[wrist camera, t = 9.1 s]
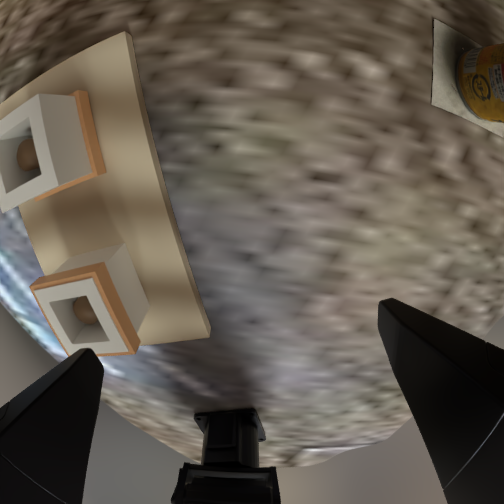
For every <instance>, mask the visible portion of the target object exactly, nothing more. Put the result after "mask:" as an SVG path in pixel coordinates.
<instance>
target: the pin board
mask: <svg viewBox="0 0 504 504" xmlns="http://www.w3.org/2000/svg"><path fill="white" fill-rule="evenodd" d="M77 90H81V91H87V92H88V97H89V102H90V107H91V112H92V116H93V121H94V125H95V130H96V134H97V138H98V142H99V146H100V150H101V154H102V158H103V162H104V165H105V169H106V172H107V173H104V174H101V175H99V176H96V177H94V178H91V179H88V180H86V181H83V182H81V183H78V184H76V185H74V186H71V187H69V188H66V189H64V190H62V191H59V192H57V193H55V194H52V195H50V196H48V197H46V198H43V199H41V200H39V201H37V202H35V199H34V198H33V199H31V200H29V201H27V202H24V203H22V204H20V205H18V206H19V209H20V213H21V216H22V219H23V222H24V224H25V227H26V230H27V233H28V236H29V238H30V241H31V244H32V246H33V249H34V251H35V254H36V256H37V259H38V261H39V263H40V266H41V268H42V270H43V272H44V275H45V276H47V275H51V274H52V273H53V272H54V271H55V270H56V269H57V268H58V267H60V266H61V265H62V264H63V263H64V262H65V261H66V260H67V259H69V258H70V257H72V256H76V255H80V254H84V253H87V252H91V251H95V250H99V249H102V248H106V247H110V246H114V245H118V244H122V243H125V244H126V247H127V249H128V252H129V255H130V257H131V260H132V263H133V265H134V268H135V271H136V273H137V276H138V278H139V281H140V283H141V286H142V288H143V290H144V293H145V295H146V298H147V300H148V302H149V305H150V307H149V310H148V312H147V314H146V316H145V318H144V320H143V322H142V324H141V326H140V328H139V331H138V333H137V335H138V337H139V339H140V341H141V342H140V345H139V346H142V345H152V344H161V343H170V342H178V341H186V340H194V339H201V338H208V337H210V331H211V326H210V323H209V320H208V318H207V315H206V312H205V309H204V306H203V303H202V301H201V298H200V295H199V292H198V289H197V286H196V283H195V280H194V277H193V274H192V271H191V268H190V265H189V262H188V259H187V256H186V252H185V249H184V246H183V243H182V240H181V236H180V233H179V230H178V227H177V223H176V220H175V217H174V213H173V210H172V206H171V203H170V199H169V196H168V192H167V189H166V185H165V182H164V178H163V174H162V170H161V167H160V163H159V159H158V155H157V151H156V147H155V143H154V139H153V135H152V131H151V127H150V123H149V119H148V114H147V110H146V106H145V101H144V97H143V92H142V87H141V83H140V78H139V73H138V68H137V63H136V57H135V52H134V47H133V41H132V36H131V35H130V34H128V33H127V32H125V31H124V32H121V33H119V34H117V35H115V36H112V37H110V38H108V39H106V40H103V41H101V42H99V43H97V44H95V45H93V46H91V47H89V48H87V49H85V50H83V51H81V52H79V53H78V54H76V55H74V56H72V57H70V58H68V59H67V60H65V61H63V62H61V63H60V64H58V65H56V66H55V67H53V68H51V69H50V70H48V71H47V72H45V73H43V74H42V75H40V76H39V77H37V78H36V79H34V80H33V81H31V82H30V83H28V84H27V85H25V86H24V87H23V88H21V89H20V90H18V91H17V92H16V93H14V94H13V95H12V96H10V97H9V98H8V99H6V100H5V101H4V102H3V103H1V104H0V120H2V119H3V118H4V117H5V116H7V115H8V114H9V113H11V112H12V111H14V110H15V109H16V108H18V107H19V106H21V105H22V104H23V103H25V102H26V101H28V100H29V99H31V98H32V97H34V96H35V95H37V94H38V93H39V94H54V95H66V96H68V95H69V94H71V93H73V92H75V91H77ZM17 162H18V165H19V167H20V168H21V169H22V170H24V171H30V170H33V169H36V168H40V166H39V162H38V158H37V154H36V149H35V145H34V140H33V138H32V139H26V140H24V141H22V142H21V143H20V145H19V147H18V149H17ZM73 311H74V314H75V315H76V317H77V318H78V319H79V320H80V321H81V322H83V323H85V324H94V323H95V322H96V321H97V320H98V318H97V316H96V314H95V312H94V310H93V308H92V306H91V304H90V302H89V300H88V298H87V296H80V297H79V298H78V299H77V300H76V301H75V303H74V304H73Z"/></svg>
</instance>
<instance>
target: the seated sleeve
mask: <svg viewBox="0 0 504 504" xmlns="http://www.w3.org/2000/svg"><path fill="white" fill-rule="evenodd" d="M29 287H30V289H31V291H32V293H33V295H34V297H35V299H36V301H37V303H38V305H39V307H40V309H41V311H42V313H43V315H44V316H45V318H46V320H47V322H48V324H49V325H50V327H51V329H52V331H53V332H54V334H55V336H56V337H57V339H58V341H59V342H60V344H61V346H62V347H63V349H64V350H65V352H66V354H67V355H68V357H69V356H71V355H72V354H73V353H75V352H76V351H77V350H79V349H81V348H91V349H92V350H93V351H94V352H95V354H96V355H97V356H115V355H129V354H136V352H137V349H138V347H139V345H140V342H141V341H140V339H139V337H138V335H137V333H138V331H139V328H140V326H141V324H142V322H143V320H144V318H145V316H146V314H147V312H148V310H149V307H150V305H149V302H148V300H147V298H146V295H145V293H144V290H143V288H142V286H141V283H140V281H139V278H138V276H137V273H136V271H135V268H134V265H133V263H132V260H131V257H130V255H129V252H128V249H127V247H126V244H125V243H122V244H118V245H114V246H110V247H106V248H102V249H99V250H95V251H91V252H87V253H84V254H80V255H76V256H72V257H70V258H69V259H67V260H66V261H65V262H64V263H63V264H62V265H61V266H60V267H58V268H57V269H56V270H55V271H54V272H53V273H52V274H51V275H47V276H43V277H39V278H38V279H37V280H36V281H35V282H34V283H33V284H31V285H30V286H29ZM80 296H87V298H88V300H89V302H90V304H91V306H92V308H93V310H94V312H95V314H96V316H97V318H98V320H97V321H96V322H95V323H94V324H85V323H83V322H81V321H80V320H79V319H78V318H77V317H76V315H75V314H74V311H73V304H74V303H75V301H76V300H77V299H78V298H79V297H80Z"/></svg>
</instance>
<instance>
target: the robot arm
mask: <svg viewBox="0 0 504 504" xmlns="http://www.w3.org/2000/svg"><path fill="white" fill-rule="evenodd" d="M378 330H379V333H380V336H381V338H382V341H383V344H384V347H385V350H386V353H387V355H388V358H389V361H390V364H391V367H392V370H393V373H394V375H395V377H396V379H397V382H398V384H399V386H400V388H401V390H402V392H403V394H404V397H405V399H406V401H407V403H408V405H409V407H410V410H411V412H412V414H413V416H414V419H415V421H416V423H417V426H418V428H419V430H420V433H421V435H422V437H423V440H424V442H425V445H426V447H427V449H428V452H429V454H430V457H431V459H432V462H433V464H434V467H435V470H436V472H437V475H438V478H439V480H440V483H441V486H442V488H443V489H444V490H443V492H444V494H445V497H446V500H447V503H448V504H504V349H501V348H499V347H497V346H495V345H493V344H491V343H489V342H485V341H484V340H482V339H480V338H478V337H476V336H474V335H472V334H469V333H467V332H465V331H463V330H461V329H459V328H457V327H455V326H453V325H450V324H448V323H446V322H444V321H442V320H440V319H438V318H435V317H433V316H431V315H429V314H427V313H425V312H422V311H420V310H418V309H416V308H414V307H412V306H409V305H407V304H405V303H403V302H401V301H399V300H396V299H394V298H389V299H385V300H381V301H380V302H379V305H378ZM103 376H104V368H103V365H102V363H101V362H100V360H99V359H98V357H97V355H96V354H95V352H94V351H93V350H92V349H91V348H81V349H79V350H77V351H76V352H75V353H73V354H72V355H71V356H69V357H68V358H66V359H65V360H64V361H62V362H61V363H60V364H58V365H57V366H56V367H54V368H53V369H51V370H50V371H49V372H47V373H46V374H45V375H43V376H42V377H41V378H39V379H38V380H37V381H35V382H34V383H33V384H31V385H30V386H29V387H27V388H26V389H25V390H23V391H22V392H21V393H19V394H18V395H17V396H16V397H14V398H13V399H11V400H10V402H7V403H6V404H5V405H3V406H2V407H1V408H0V504H82V499H83V491H84V484H85V478H86V471H87V465H88V459H89V453H90V448H91V443H92V438H93V433H94V428H95V424H96V419H97V415H98V410H99V403H100V396H101V389H102V382H103ZM194 420H195V421H196V423H197V425H198V426H199V428H200V429H201V431H202V432H203V434H204V439H203V448H202V458H201V465H197V464H190V463H186V462H184V466H183V468H180V470H179V477H178V482H177V485H176V488H175V490H174V493H173V495H172V498H171V503H172V504H281V499H280V492H279V486H278V479H277V473H276V467H275V466H274V467H263V468H259V443H258V442H262V441H265V440H266V436H265V433H264V431H263V428H262V425H261V423H260V420H259V417H258V415H257V412H256V410H255V409H243V410H234V411H224V412H212V413H198V414H195V415H194Z"/></svg>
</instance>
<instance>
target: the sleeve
mask: <svg viewBox="0 0 504 504" xmlns="http://www.w3.org/2000/svg"><path fill="white" fill-rule="evenodd" d="M32 138H33V140H34V145H35V149H36V154H37V158H38V162H39V166H40V168H36V169H33V170H30V171H24V170H22V169H21V168H20V167H19V165H18V162H17V149H18V147H19V145H20V143H21V142H22V141H24V140H26V139H32ZM104 173H107V172H106V169H105V165H104V162H103V158H102V154H101V150H100V146H99V142H98V138H97V134H96V130H95V125H94V121H93V116H92V112H91V107H90V102H89V97H88V92H87V91H81V90H77V91H75V92H73V93H71V94H69V95H68V96H66V95H54V94H39V93H38V94H37V95H35V96H34V97H32V98H31V99H29V100H28V101H26V102H25V103H23V104H22V105H21V106H19V107H18V108H16V109H15V110H14V111H12V112H11V113H9V114H8V115H7V116H5V117H4V118H3V119H2V120H0V207H1V210H2V213H4V212H6V211H8V210H10V209H12V208H14V207H16V206H18V205H20V204H22V203H24V202H27V201H29V200H31V199H33V198H34V199H35V202H37V201H39V200H41V199H43V198H46V197H48V196H50V195H52V194H55V193H57V192H59V191H62V190H64V189H66V188H69V187H71V186H74V185H76V184H78V183H81V182H83V181H86V180H88V179H91V178H94V177H96V176H99V175H101V174H104Z"/></svg>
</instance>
